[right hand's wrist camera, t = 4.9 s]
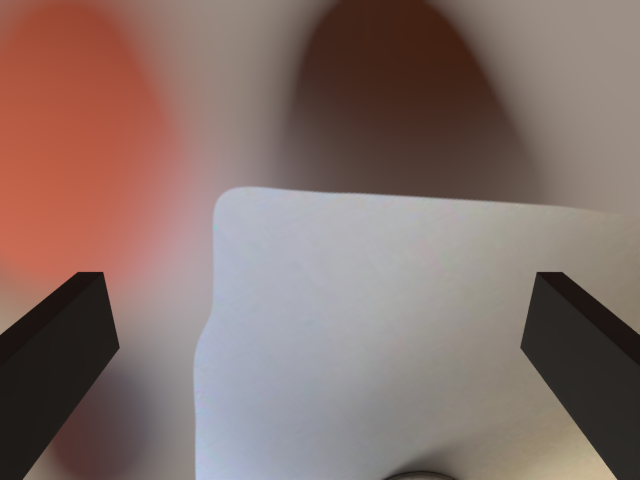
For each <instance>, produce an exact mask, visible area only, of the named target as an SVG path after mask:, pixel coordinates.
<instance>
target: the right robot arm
mask: <svg viewBox="0 0 640 480" xmlns="http://www.w3.org/2000/svg"><path fill="white" fill-rule="evenodd" d="M119 348H120V347H119V342H118V338H117V333H116V329H115V324H114V320H113V315H112V310H111V306H110V301H109V297H108V292H107V288H106V283H105V278H104V274H103V272H77V273H76V274H75V275H74V276H72V277H71V278H70V279H69V280H67V281H66V282H65V283H64V284H62V285H61V286H60V287H59V288H58V289H56V290H55V291H54V292H53V293H51V294H50V295H49V296H48V297H46V298H45V299H44V300H43V301H42V302H40V303H39V304H38V305H37V306H35V307H34V308H33V309H32V310H31V311H29V312H28V313H27V314H26V315H24V316H23V317H22V318H21V319H19V320H18V321H17V322H16V323H14V324H13V325H12V326H11V327H10V328H8V329H7V330H6V331H5V332H3V333H2V334H1V335H0V480H23V478H24V477H25V476H26V474H27V473H28V472H29V470H30V469H31V468H32V466H33V465H34V463H35V462H36V461H37V459H38V458H39V457H40V455H41V454H42V453H43V451H44V450H45V449H46V447H47V446H48V444H49V443H50V442H51V440H52V439H53V438H54V436H55V435H56V433H57V432H58V431H59V429H60V428H61V427H62V425H63V424H64V423H65V421H66V420H67V419H68V417H69V416H70V414H71V413H72V412H73V410H74V409H75V408H76V406H77V405H78V404H79V402H80V401H81V400H82V398H83V397H84V396H85V394H86V393H87V391H88V390H89V389H90V387H91V386H92V385H93V383H94V382H95V381H96V379H97V378H98V376H99V375H100V374H101V372H102V371H103V370H104V368H105V367H106V366H107V364H108V363H109V361H110V360H111V359H112V357H113V356H114V355H115V353H116V352H117V351H118V349H119ZM520 348H521V349H522V351H523V352H524V353H525V355H526V356H527V357H528V359H529V360H530V362H531V363H532V364H533V366H534V367H535V368H536V370H537V371H538V372H539V374H540V375H541V376H542V378H543V379H544V381H545V382H546V383H547V385H548V386H549V387H550V389H551V390H552V391H553V393H554V394H555V396H556V397H557V398H558V400H559V401H560V402H561V404H562V405H563V406H564V408H565V409H566V410H567V412H568V413H569V415H570V416H571V417H572V419H573V420H574V421H575V423H576V424H577V425H578V427H579V428H580V429H581V431H582V432H583V434H584V435H585V436H586V438H587V439H588V440H589V442H590V443H591V444H592V446H593V447H594V449H595V450H596V451H597V453H598V454H599V455H600V457H601V458H602V459H603V461H604V462H605V463H606V465H607V466H608V468H609V469H610V470H611V472H612V473H613V474H614V476H615V477H616V478H617V480H640V335H639V334H638V333H637V332H635V331H634V330H633V329H632V328H630V327H629V326H628V325H627V324H626V323H624V322H623V321H622V320H621V319H619V318H618V317H617V316H616V315H614V314H613V313H612V312H611V311H610V310H608V309H607V308H606V307H605V306H603V305H602V304H601V303H600V302H598V301H597V300H596V299H595V298H594V297H592V296H591V295H590V294H589V293H587V292H586V291H585V290H584V289H582V288H581V287H580V286H579V285H578V284H576V283H575V282H574V281H573V280H571V279H570V278H569V277H568V276H566V275H565V274H564V273H563V272H537V274H536V278H535V283H534V287H533V292H532V297H531V301H530V306H529V310H528V315H527V319H526V324H525V329H524V333H523V338H522V342H521V347H520ZM388 480H453V479H451V478H449V477H447V476H444V475H440V474H436V473H429V472H414V473H407V474H402V475H398V476H395V477H393V478H390V479H388Z"/></svg>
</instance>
